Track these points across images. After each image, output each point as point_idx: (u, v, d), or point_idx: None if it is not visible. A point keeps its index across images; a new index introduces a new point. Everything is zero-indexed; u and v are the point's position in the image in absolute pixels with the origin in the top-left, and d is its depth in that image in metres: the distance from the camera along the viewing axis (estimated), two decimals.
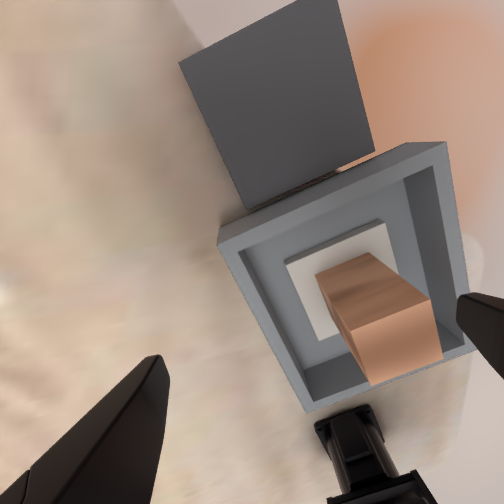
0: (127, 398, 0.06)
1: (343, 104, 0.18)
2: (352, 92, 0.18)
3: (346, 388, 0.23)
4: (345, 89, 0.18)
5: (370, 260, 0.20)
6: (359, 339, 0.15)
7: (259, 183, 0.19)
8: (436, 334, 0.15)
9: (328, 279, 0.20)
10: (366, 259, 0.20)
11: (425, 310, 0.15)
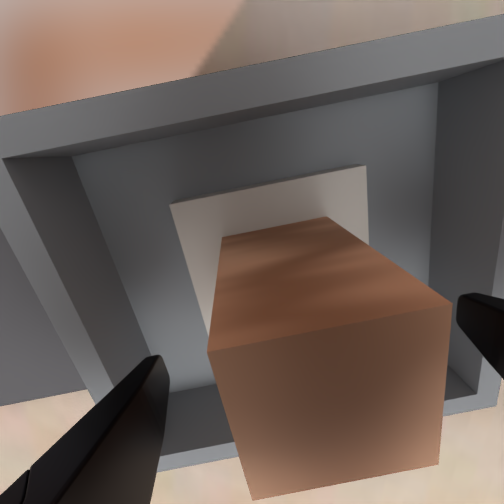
0: (127, 398, 0.06)
1: None
2: None
3: None
4: None
5: None
6: (281, 486, 0.06)
7: None
8: (344, 327, 0.05)
9: None
10: None
11: (244, 361, 0.05)
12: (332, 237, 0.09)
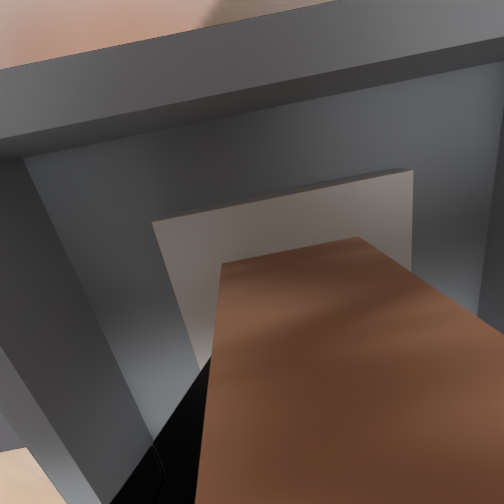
0: None
1: None
2: None
3: None
4: None
5: None
6: None
7: None
8: None
9: None
10: None
11: None
12: (378, 273, 0.06)
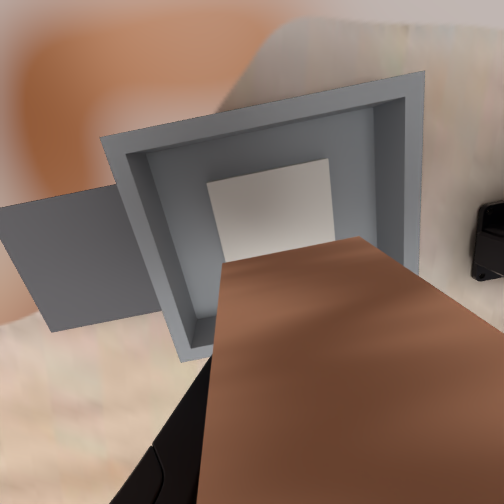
0: None
1: (83, 210, 0.19)
2: (72, 200, 0.18)
3: None
4: (70, 207, 0.18)
5: None
6: None
7: (150, 293, 0.21)
8: None
9: None
10: None
11: None
12: (379, 273, 0.06)
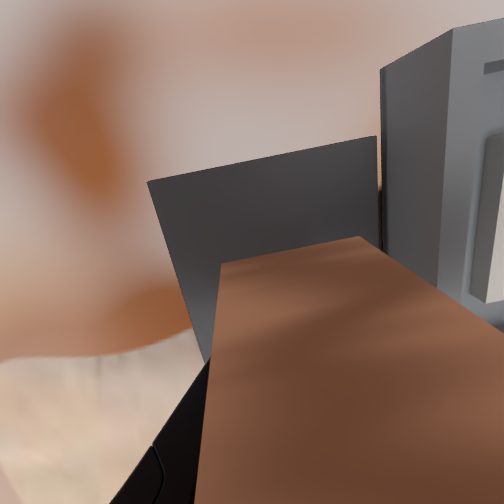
0: None
1: (294, 182, 0.12)
2: (282, 165, 0.12)
3: None
4: (276, 177, 0.12)
5: None
6: None
7: None
8: None
9: None
10: None
11: None
12: (379, 274, 0.06)
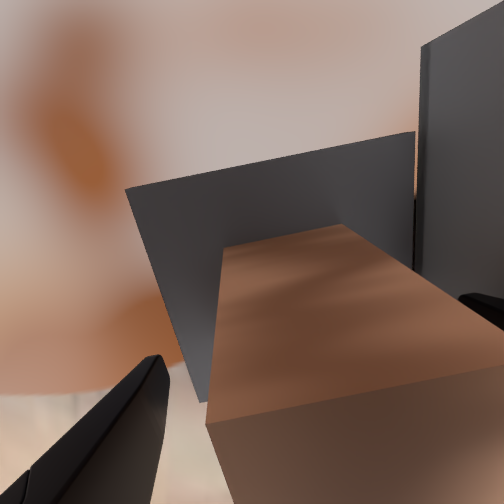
0: (127, 398, 0.06)
1: (310, 190, 0.10)
2: (295, 169, 0.09)
3: None
4: (287, 183, 0.09)
5: None
6: None
7: None
8: (393, 389, 0.04)
9: None
10: None
11: (256, 434, 0.04)
12: (353, 250, 0.08)
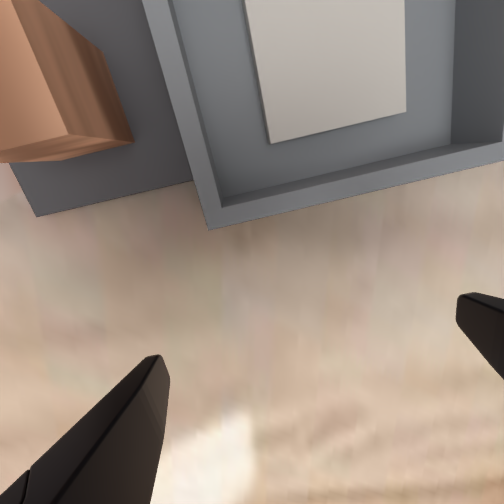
0: (127, 398, 0.06)
1: (71, 23, 0.14)
2: (56, 6, 0.13)
3: None
4: None
5: None
6: None
7: (163, 156, 0.16)
8: None
9: None
10: None
11: None
12: None
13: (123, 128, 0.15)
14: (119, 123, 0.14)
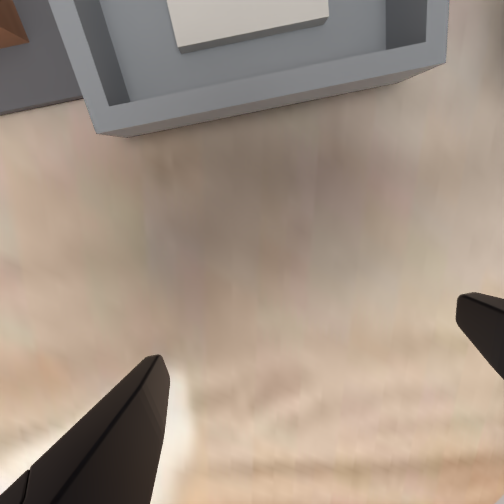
0: (127, 398, 0.06)
1: None
2: None
3: None
4: None
5: None
6: None
7: (63, 61, 0.15)
8: None
9: None
10: None
11: None
12: None
13: (7, 17, 0.13)
14: None
